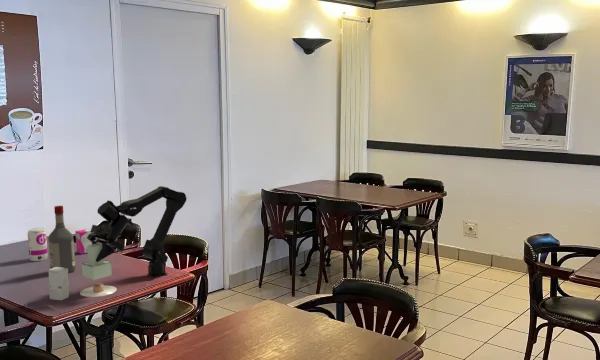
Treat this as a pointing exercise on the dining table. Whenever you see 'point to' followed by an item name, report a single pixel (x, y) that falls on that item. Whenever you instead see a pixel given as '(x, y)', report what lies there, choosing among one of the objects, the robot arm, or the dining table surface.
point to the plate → (89, 292)
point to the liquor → (61, 244)
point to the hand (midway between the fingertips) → (93, 260)
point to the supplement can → (37, 244)
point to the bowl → (98, 288)
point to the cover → (95, 264)
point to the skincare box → (58, 283)
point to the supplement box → (82, 241)
